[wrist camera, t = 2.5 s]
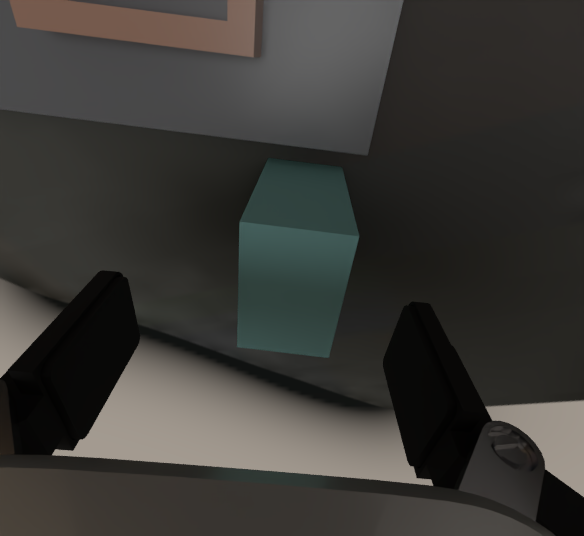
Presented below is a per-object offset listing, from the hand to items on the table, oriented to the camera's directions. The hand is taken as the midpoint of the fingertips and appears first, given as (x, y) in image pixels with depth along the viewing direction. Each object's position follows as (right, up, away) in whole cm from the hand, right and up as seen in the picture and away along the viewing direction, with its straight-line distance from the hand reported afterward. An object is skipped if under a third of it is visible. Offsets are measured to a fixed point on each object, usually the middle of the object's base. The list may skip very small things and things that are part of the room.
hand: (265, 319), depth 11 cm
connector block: (+1, +5, +8) cm, 9 cm away
